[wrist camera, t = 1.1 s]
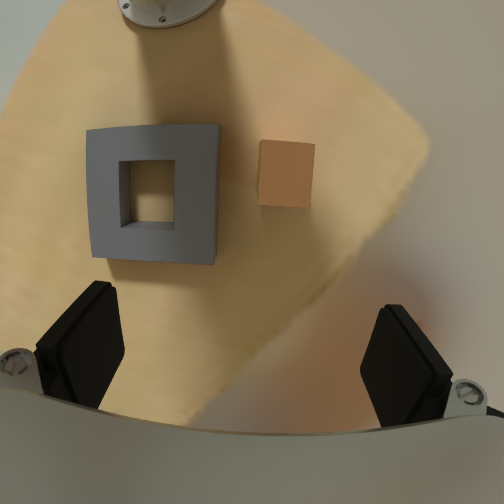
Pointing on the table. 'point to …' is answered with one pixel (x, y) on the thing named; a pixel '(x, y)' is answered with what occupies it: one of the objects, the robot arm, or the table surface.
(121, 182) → the socket plate
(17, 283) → the table surface
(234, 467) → the robot arm
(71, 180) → the table surface
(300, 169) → the plug
